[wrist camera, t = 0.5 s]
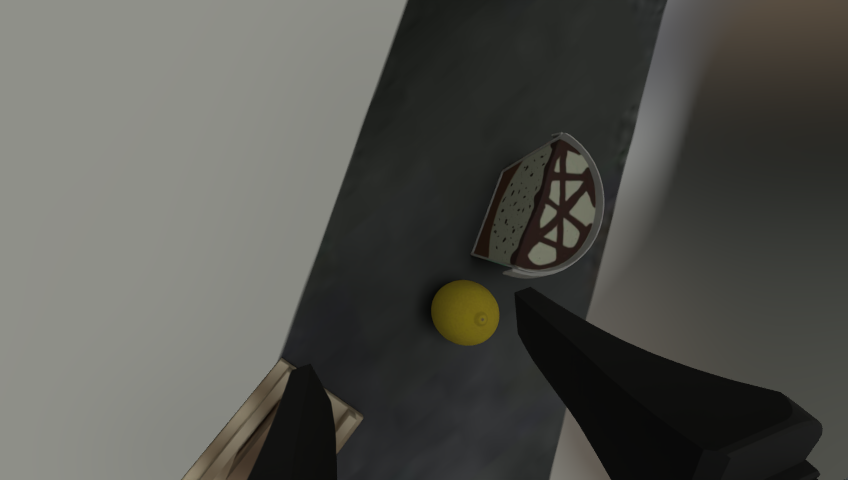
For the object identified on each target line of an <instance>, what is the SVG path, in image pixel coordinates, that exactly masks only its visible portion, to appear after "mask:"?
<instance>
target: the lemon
mask: <svg viewBox="0 0 848 480" xmlns="http://www.w3.org/2000/svg"><path fill="white" fill-rule="evenodd" d="M431 315H432V319H433V323H434V325H435V327H436V328H437V330H438V332H439V333H440V334H441V335H442V336H444V337H445V338H446V339H447V340H449V341H451V342H453V343H455V344H460V345H476V344H479V343H482V342H484V341H485V340H487V339H488V338H489V337H490V336H491V335H492V334H493V333H494V331H495V330H496V328H497V325H498V322H499V309H498V305H497V302H496V300H495V298H494V297H493V295H492V294H491V293H490V292H489V291H488V290H487V289H486V288H484V287H483V286H482V285H480V284H478V283H476V282H473V281H468V280H457V281H452V282H450V283H448V284H446V285H444V286H443V287H442V288H441V289H440V290H439V291H438V292H437V293H436V295H435V297H434V299H433V301H432V307H431Z"/></svg>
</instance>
